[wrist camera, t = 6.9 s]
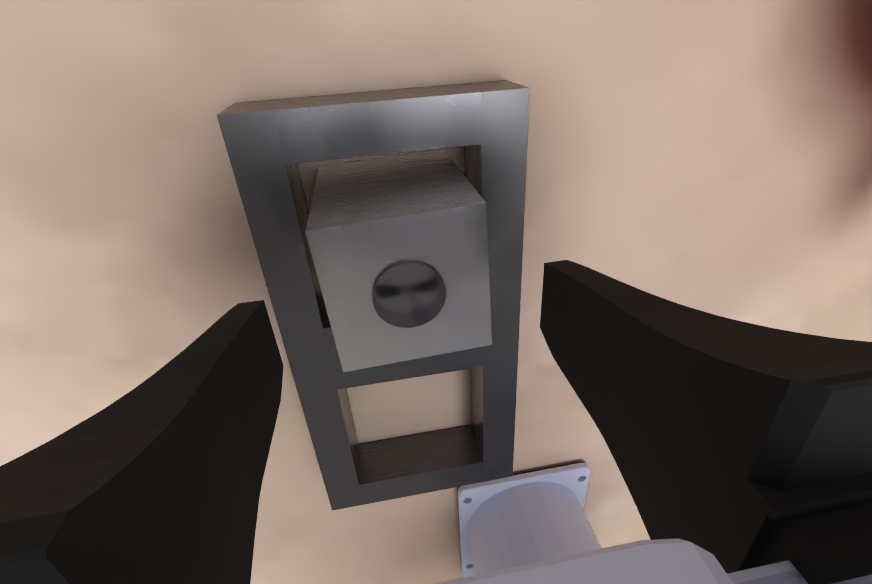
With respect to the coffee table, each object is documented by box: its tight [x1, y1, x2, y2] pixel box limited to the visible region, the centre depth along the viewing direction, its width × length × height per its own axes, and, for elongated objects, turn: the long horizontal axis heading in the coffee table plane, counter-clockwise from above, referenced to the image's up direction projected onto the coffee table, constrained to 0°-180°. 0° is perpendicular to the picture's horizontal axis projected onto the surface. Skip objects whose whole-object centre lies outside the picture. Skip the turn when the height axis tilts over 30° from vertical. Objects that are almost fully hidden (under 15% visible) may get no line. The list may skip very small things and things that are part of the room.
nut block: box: [305, 149, 492, 372], centre depth 15 cm, size 4×4×6 cm
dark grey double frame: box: [217, 80, 530, 510], centre depth 19 cm, size 18×9×2 cm, turn 3°
